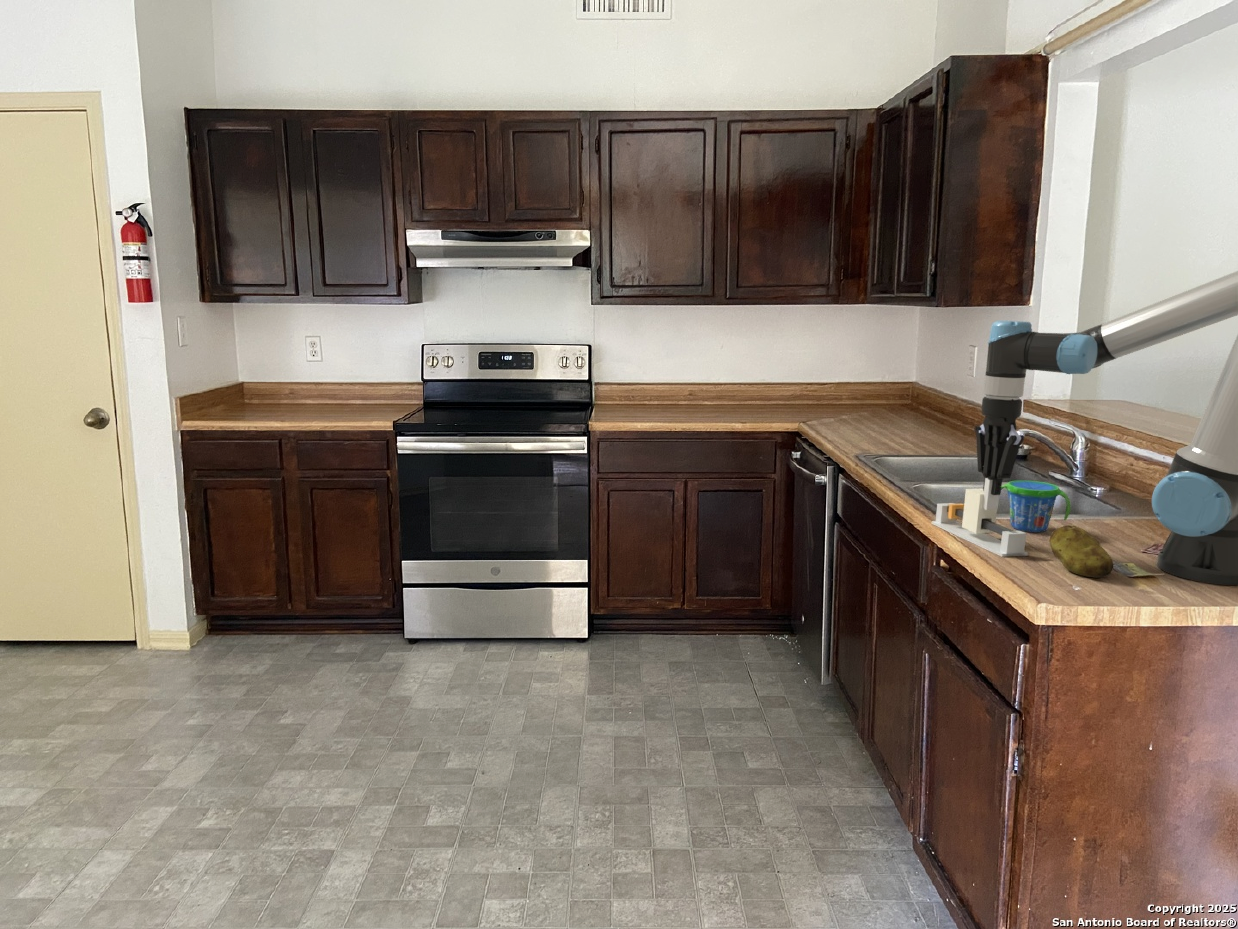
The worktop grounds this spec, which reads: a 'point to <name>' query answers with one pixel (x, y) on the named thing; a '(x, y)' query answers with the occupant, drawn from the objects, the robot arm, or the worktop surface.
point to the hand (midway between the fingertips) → (989, 508)
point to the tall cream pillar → (976, 512)
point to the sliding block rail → (1006, 547)
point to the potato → (1080, 552)
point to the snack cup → (1032, 504)
